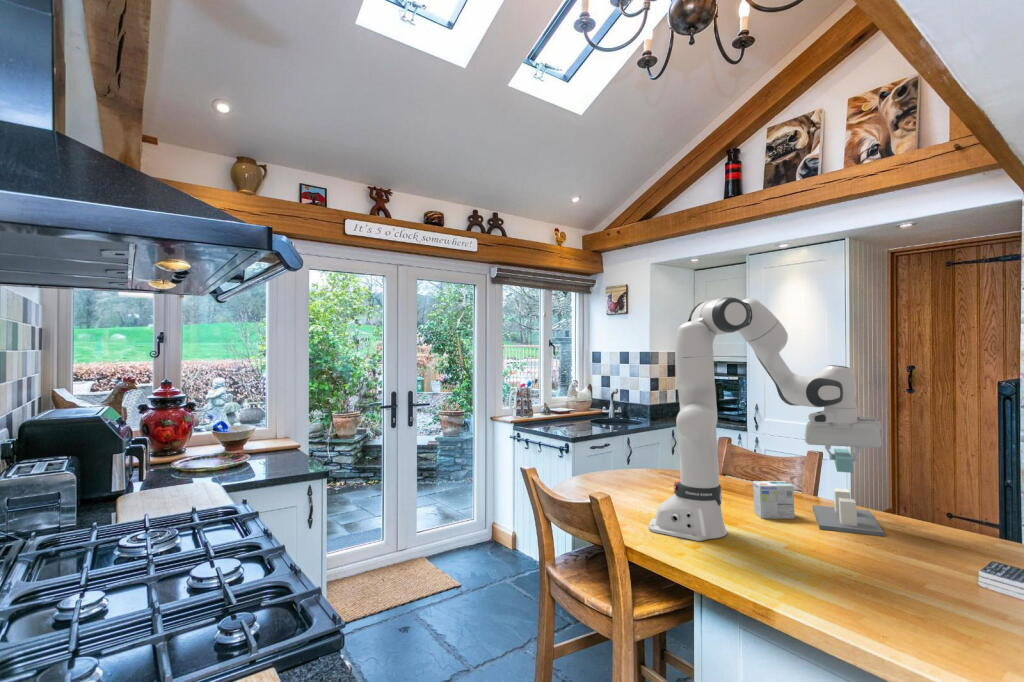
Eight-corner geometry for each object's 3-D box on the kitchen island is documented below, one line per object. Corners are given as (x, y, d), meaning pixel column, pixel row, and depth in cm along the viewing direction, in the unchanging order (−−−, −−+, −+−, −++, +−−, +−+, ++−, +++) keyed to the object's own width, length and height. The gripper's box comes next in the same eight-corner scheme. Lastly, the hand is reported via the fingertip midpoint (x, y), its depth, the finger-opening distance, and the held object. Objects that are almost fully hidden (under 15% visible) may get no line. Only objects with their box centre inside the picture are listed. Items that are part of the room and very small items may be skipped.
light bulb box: (786, 512, 167) (785, 480, 168) (795, 519, 161) (794, 485, 161) (753, 512, 168) (751, 480, 169) (761, 519, 162) (759, 485, 162)
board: (819, 529, 151) (818, 501, 151) (812, 508, 171) (811, 484, 171) (884, 536, 144) (882, 507, 144) (869, 514, 164) (868, 488, 164)
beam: (834, 460, 167) (833, 448, 167) (848, 461, 165) (848, 449, 165) (837, 471, 151) (836, 458, 151) (853, 472, 149) (852, 459, 149)
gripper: (878, 416, 157) (881, 460, 156) (803, 414, 166) (805, 456, 165) (883, 418, 151) (885, 464, 150) (804, 416, 160) (806, 460, 160)
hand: (842, 460), depth 158 cm, fingers closed on beam, 4 cm apart
